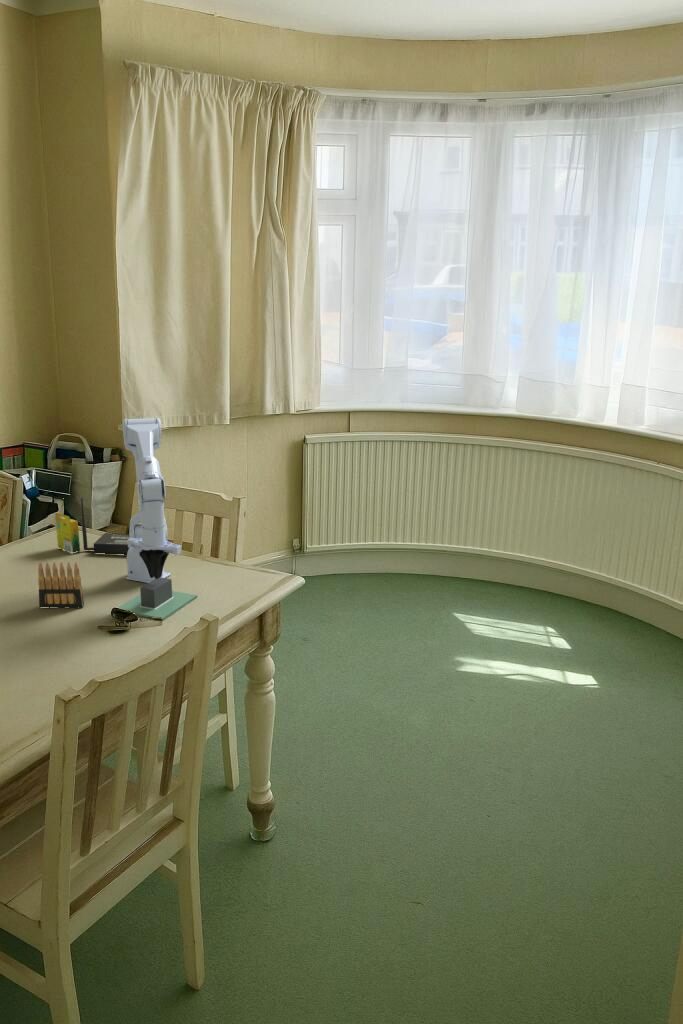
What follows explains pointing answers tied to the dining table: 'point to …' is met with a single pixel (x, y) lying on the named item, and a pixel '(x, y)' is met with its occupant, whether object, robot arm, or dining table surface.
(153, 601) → the block
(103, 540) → the wifi router
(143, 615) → the header board
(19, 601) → the dining table surface
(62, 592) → the ammunition clip
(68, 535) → the crayon box
